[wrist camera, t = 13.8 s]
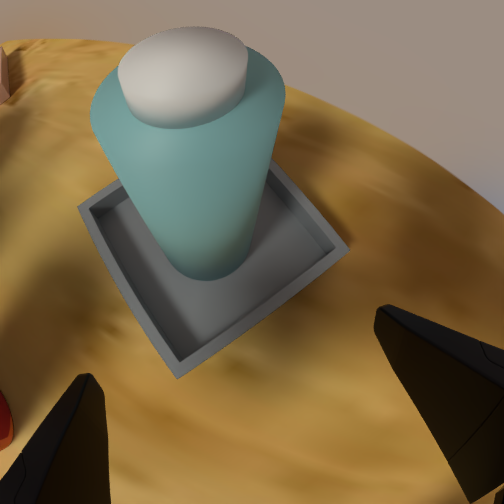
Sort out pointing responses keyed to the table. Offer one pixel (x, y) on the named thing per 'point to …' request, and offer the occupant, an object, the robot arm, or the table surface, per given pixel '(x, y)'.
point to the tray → (217, 291)
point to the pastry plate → (4, 77)
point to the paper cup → (5, 424)
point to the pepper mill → (192, 142)
